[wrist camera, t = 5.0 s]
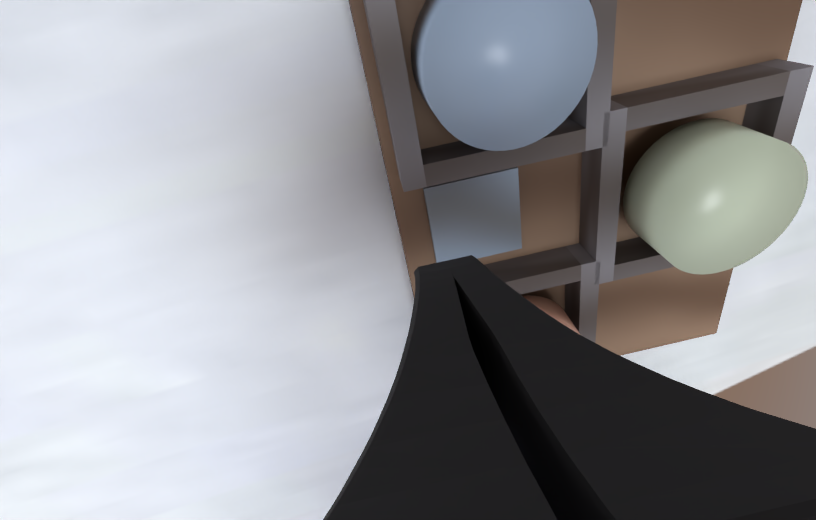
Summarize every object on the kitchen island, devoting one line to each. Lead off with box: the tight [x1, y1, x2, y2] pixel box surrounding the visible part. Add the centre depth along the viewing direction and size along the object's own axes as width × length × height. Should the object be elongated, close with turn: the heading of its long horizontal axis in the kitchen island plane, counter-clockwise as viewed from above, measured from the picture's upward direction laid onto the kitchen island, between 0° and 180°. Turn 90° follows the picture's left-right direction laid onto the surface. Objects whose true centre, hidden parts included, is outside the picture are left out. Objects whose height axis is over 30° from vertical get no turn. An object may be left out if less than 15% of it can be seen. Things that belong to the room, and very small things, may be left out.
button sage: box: [623, 118, 808, 274], centre depth 16 cm, size 5×5×2 cm
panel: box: [349, 0, 814, 356], centre depth 18 cm, size 20×15×3 cm
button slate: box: [411, 0, 598, 151], centre depth 14 cm, size 5×5×2 cm
